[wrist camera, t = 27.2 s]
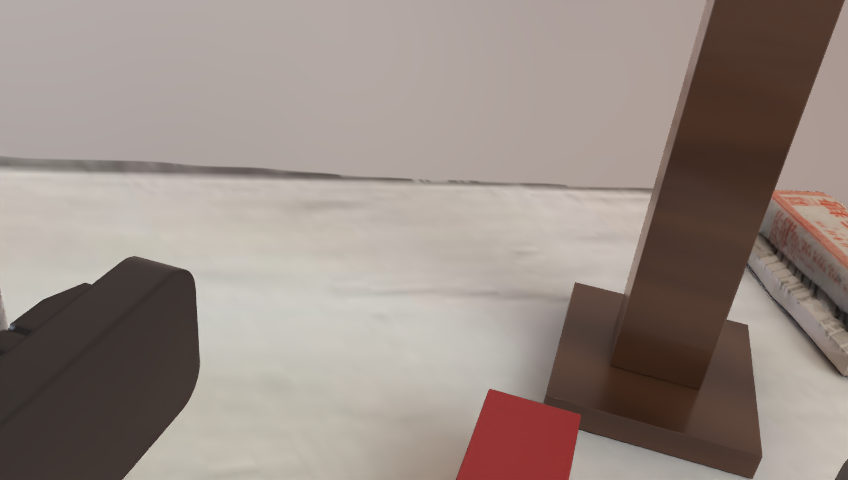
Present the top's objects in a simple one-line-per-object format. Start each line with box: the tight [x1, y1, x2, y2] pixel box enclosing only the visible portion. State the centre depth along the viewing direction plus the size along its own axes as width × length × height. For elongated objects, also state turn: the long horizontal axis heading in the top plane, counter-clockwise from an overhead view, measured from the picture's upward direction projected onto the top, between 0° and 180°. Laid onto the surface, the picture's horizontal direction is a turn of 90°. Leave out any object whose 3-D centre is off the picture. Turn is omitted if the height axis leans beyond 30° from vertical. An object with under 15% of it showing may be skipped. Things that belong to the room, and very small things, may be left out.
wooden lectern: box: [544, 0, 845, 478], centre depth 36 cm, size 13×11×34 cm
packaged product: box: [747, 190, 848, 375], centre depth 54 cm, size 18×5×10 cm
